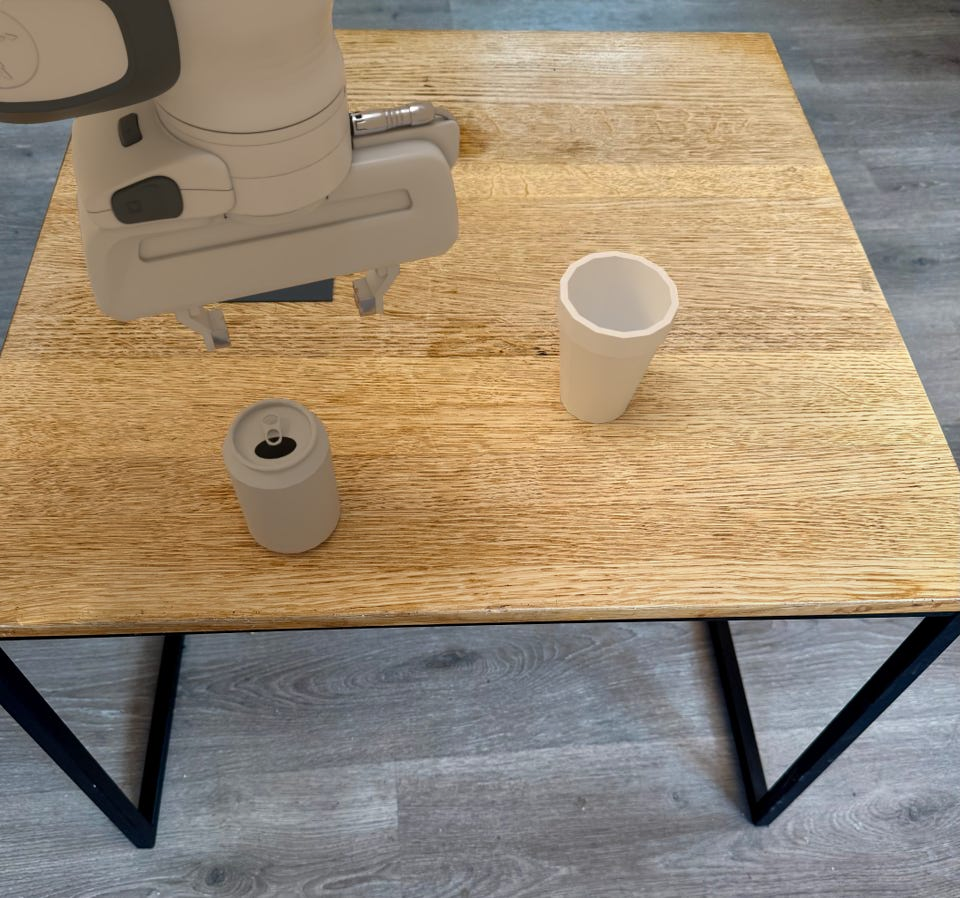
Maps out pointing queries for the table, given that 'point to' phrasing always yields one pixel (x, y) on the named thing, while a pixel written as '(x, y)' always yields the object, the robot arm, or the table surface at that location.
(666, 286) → the foam cup
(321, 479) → the can
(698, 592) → the table surface
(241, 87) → the robot arm
